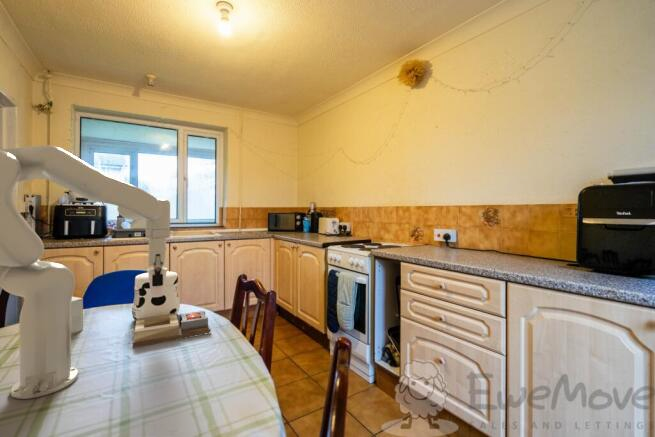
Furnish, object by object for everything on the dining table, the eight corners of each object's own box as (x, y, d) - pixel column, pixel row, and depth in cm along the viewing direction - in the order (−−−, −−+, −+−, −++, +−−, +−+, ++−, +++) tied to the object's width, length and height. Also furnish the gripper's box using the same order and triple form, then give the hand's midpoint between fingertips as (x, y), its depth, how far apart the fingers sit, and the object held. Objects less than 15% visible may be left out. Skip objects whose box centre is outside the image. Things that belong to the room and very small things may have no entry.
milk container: (187, 311, 131) (187, 271, 130) (165, 326, 113) (165, 280, 113) (148, 310, 131) (149, 270, 130) (121, 325, 114) (121, 279, 113)
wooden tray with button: (210, 333, 108) (210, 320, 108) (132, 347, 96) (132, 332, 96) (204, 320, 121) (204, 308, 120) (135, 331, 108) (135, 318, 108)
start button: (201, 325, 111) (201, 316, 111) (186, 327, 108) (187, 319, 108) (199, 320, 115) (199, 312, 115) (185, 323, 113) (185, 314, 113)
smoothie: (171, 293, 108) (171, 256, 108) (159, 298, 102) (160, 258, 101) (155, 292, 109) (155, 255, 108) (142, 297, 102) (142, 258, 102)
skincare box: (58, 332, 106) (58, 299, 106) (72, 327, 110) (72, 296, 110) (70, 334, 104) (70, 301, 104) (83, 329, 109) (83, 298, 108)
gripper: (146, 231, 110) (145, 279, 111) (145, 236, 95) (144, 290, 96) (168, 231, 114) (168, 277, 114) (171, 235, 99) (170, 288, 100)
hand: (157, 283), depth 105 cm, fingers closed on smoothie, 6 cm apart
